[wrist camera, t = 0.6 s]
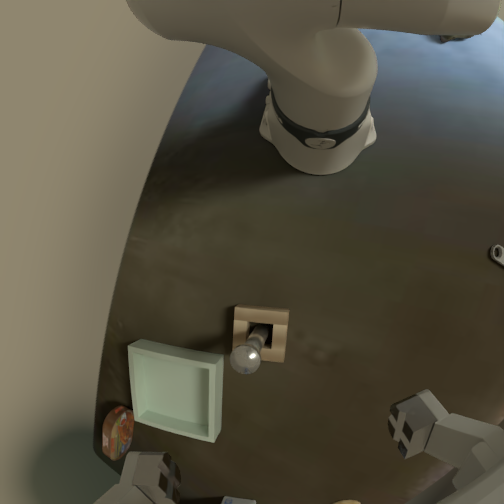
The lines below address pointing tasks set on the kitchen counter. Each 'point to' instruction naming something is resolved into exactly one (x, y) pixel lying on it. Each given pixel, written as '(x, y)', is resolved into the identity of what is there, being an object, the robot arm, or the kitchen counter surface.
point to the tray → (176, 388)
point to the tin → (117, 432)
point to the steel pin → (250, 351)
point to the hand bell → (347, 502)
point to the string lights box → (237, 501)
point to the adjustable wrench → (502, 257)
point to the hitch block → (262, 315)
